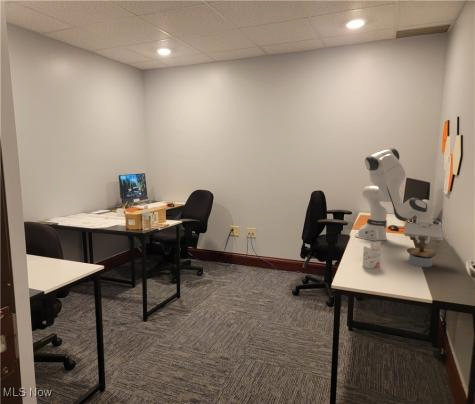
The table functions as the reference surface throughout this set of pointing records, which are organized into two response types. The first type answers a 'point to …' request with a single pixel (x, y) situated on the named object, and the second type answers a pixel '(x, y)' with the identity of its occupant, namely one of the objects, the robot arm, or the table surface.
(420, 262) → the bowl
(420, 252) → the lid
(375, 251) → the ink cartridge box
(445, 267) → the table surface
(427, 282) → the table surface
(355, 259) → the table surface
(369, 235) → the robot arm
